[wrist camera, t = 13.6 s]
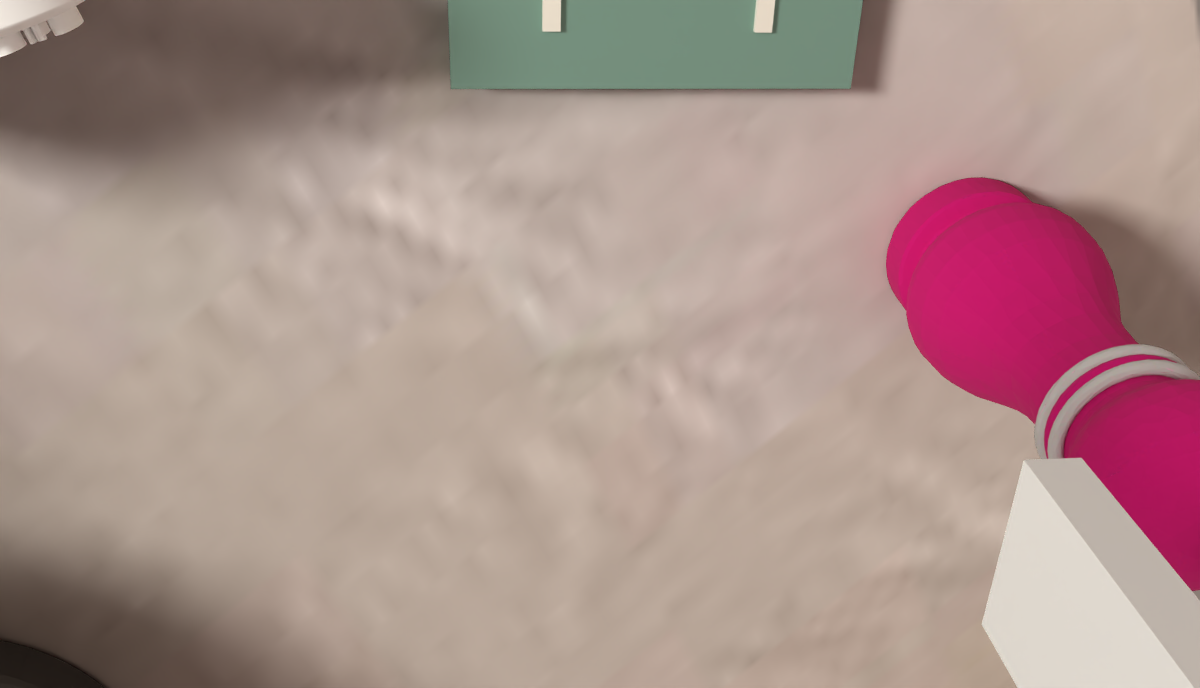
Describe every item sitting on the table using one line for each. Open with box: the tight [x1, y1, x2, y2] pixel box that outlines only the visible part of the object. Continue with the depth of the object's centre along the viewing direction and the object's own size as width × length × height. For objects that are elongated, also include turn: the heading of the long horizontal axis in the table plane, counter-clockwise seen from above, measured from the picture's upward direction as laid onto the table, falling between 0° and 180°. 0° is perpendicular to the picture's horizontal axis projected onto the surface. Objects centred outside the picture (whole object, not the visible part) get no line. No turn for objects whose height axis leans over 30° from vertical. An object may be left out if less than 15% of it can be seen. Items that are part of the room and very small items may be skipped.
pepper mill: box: [886, 178, 1200, 591], centre depth 37 cm, size 7×7×20 cm
